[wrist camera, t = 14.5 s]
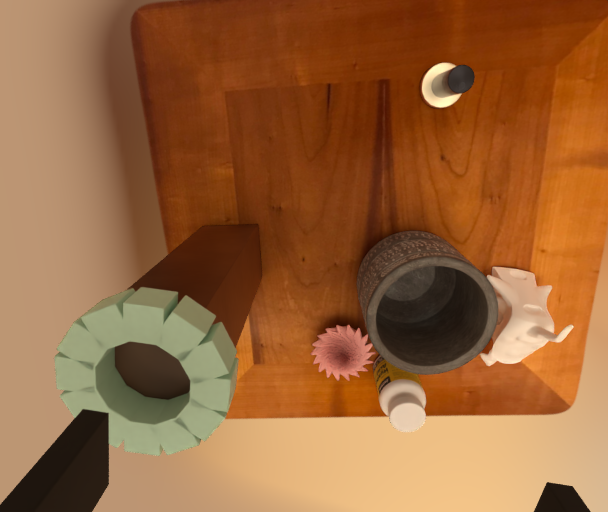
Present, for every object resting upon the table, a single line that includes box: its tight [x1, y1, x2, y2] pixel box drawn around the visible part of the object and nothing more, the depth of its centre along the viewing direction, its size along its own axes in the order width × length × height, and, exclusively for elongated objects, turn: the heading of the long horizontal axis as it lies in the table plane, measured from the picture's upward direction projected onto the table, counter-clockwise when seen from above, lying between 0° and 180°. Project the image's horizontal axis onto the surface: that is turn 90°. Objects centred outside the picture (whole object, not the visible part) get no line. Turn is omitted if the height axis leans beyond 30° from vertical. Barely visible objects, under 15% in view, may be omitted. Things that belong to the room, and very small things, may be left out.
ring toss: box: [420, 62, 475, 109], centre depth 39 cm, size 4×4×6 cm
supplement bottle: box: [373, 355, 426, 432], centre depth 48 cm, size 5×5×10 cm
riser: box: [115, 224, 262, 400], centre depth 37 cm, size 7×7×24 cm
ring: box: [55, 287, 238, 456], centre depth 24 cm, size 10×10×2 cm
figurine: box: [480, 267, 574, 366], centre depth 46 cm, size 8×15×12 cm, turn 171°
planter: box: [357, 231, 498, 375], centre depth 42 cm, size 12×12×13 cm
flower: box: [311, 324, 376, 381], centre depth 49 cm, size 8×8×6 cm
